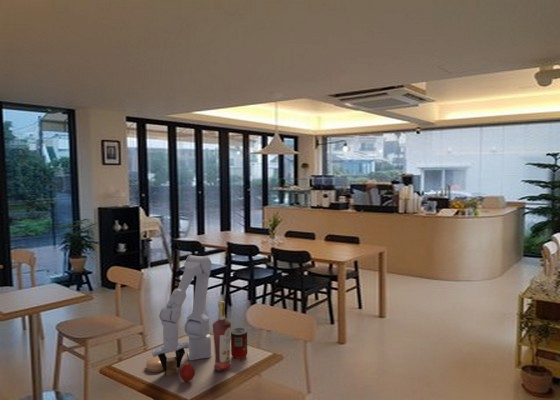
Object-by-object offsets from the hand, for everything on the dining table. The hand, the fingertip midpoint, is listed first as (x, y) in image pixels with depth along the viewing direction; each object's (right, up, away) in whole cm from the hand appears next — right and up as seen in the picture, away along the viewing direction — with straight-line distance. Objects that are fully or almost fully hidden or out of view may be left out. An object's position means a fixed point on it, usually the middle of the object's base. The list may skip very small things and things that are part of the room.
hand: (171, 369), depth 164 cm
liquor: (+20, -1, +3) cm, 20 cm away
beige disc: (-7, -1, +5) cm, 9 cm away
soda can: (+26, -1, +13) cm, 29 cm away
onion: (+8, -2, -7) cm, 11 cm away
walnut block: (0, -1, 0) cm, 1 cm away
